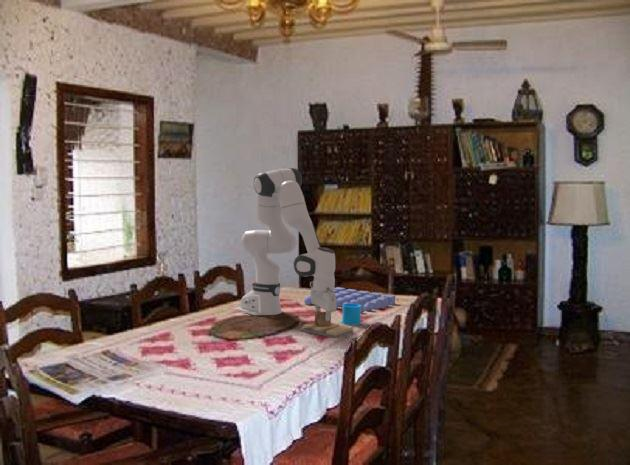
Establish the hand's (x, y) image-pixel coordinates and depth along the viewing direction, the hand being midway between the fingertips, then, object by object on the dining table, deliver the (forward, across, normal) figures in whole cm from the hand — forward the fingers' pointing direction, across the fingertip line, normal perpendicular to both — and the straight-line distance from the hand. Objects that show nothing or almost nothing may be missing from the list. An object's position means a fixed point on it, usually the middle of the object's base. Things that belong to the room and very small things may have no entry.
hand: (322, 317), depth 295 cm
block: (+3, 0, 0) cm, 3 cm away
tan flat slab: (+4, 0, 0) cm, 4 cm away
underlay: (+6, -2, -1) cm, 6 cm away
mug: (+6, +12, -20) cm, 24 cm away
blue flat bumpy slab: (+6, +49, -35) cm, 61 cm away
